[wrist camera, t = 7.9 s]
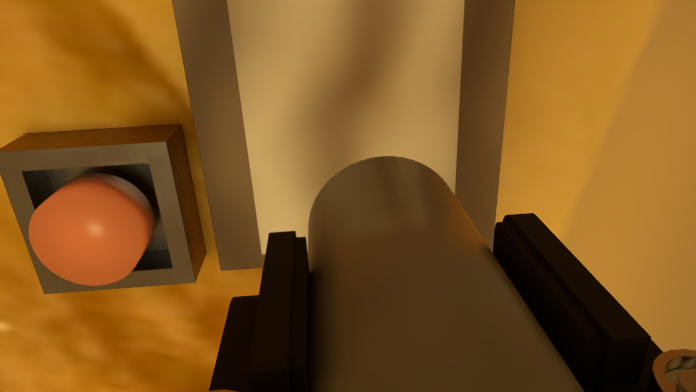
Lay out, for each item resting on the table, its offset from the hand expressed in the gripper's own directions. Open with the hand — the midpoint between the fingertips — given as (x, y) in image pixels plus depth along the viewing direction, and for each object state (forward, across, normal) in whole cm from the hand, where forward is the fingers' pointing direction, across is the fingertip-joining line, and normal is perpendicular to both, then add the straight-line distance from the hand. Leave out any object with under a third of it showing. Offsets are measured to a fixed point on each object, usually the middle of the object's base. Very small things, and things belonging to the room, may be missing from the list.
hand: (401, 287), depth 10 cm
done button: (+15, +13, +5) cm, 20 cm away
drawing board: (+17, 0, 0) cm, 17 cm away
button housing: (+17, +13, +5) cm, 22 cm away
